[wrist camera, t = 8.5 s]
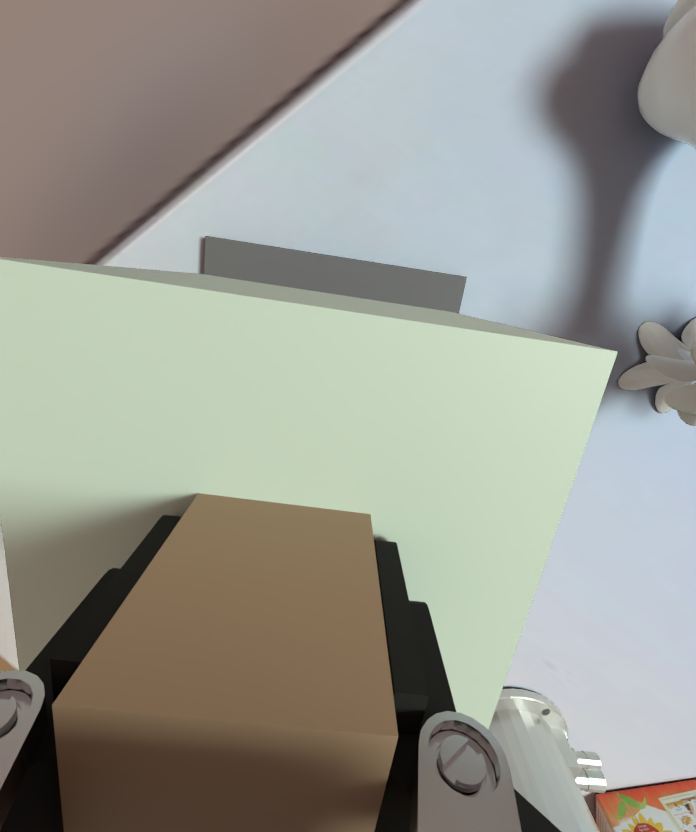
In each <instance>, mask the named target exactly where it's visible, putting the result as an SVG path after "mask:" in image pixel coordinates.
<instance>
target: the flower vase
mask: <svg viewBox="0 0 696 832" xmlns="http://www.w3.org/2000/svg"><path fill="white" fill-rule="evenodd" d="M638 107H639V110H640V112H641V114H642V116H643V118H644V119H645V121H646V122H647V123H648V124H649V125H650V126H651V127H652V128H653V129H655V130H656V131H657V132H659V133H660V134H662V135H664V136H666V137H668V138H671V139H674V140H678V141H681V142H684V143H686V144H688V145H690V146H692V147H694V148H695V149H696V0H678V1H677V3H676V4H675V5H674V7H673V8H672V10H671V11H670V13H669V15H668V17H667V19H666V21H665V24H664V28H663V39H662V41H661V42H660V43H659V45H658V46H657V48H656V49H655V51H654V52H653V54H652V56H651V58H650V60H649V62H648V64H647V66H646V68H645V71H644V73H643V75H642V77H641V80H640V83H639V87H638ZM638 336H639V340H640V343H641V345H642V346H643V348H644V350H645V351H646V352H647V353H648V354H649V355H648V356H646V361H647V362H646V363H642V364H639V365H636V366H634V367H632V368H631V369H629V370H627V371H626V372H625V373H623V375H622V376H621V377H620V378H619V381H618V384H619V387H620V388H622V389H624V390H640V389H645V388H650V387H653V386H659V385H664V386H662V387H660V388H659V390H658V391H657V394H656V398H655V405H656V408H657V410H658V411H659V412H661V413H667V412H668V411H670V410H671V409H675V410H677V412H678V415H679V416H680V419H682V420H683V421H684V422H685V423H686V424H689V425H692V426H696V318H694V319H693V320H692V321H691V322H690V323H689V324H688V325H687V326H686V327H685V329H684V331H683V332H682V335H681V339H682V341H683V343H684V344H683V343H682V342H681V341H679V340H678V339H677V338H676V337H674V336H673V334H671V333H670V332H669V331H668V330H667V329H666V328H665V327H663V326H661V325H660V324H658V323H655V322H649V321H648V322H644V323H643V324H642V325H641V326H640V328H639V331H638ZM692 382H693V383H695V384H691V383H692ZM665 384H666V385H665Z"/></svg>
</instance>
